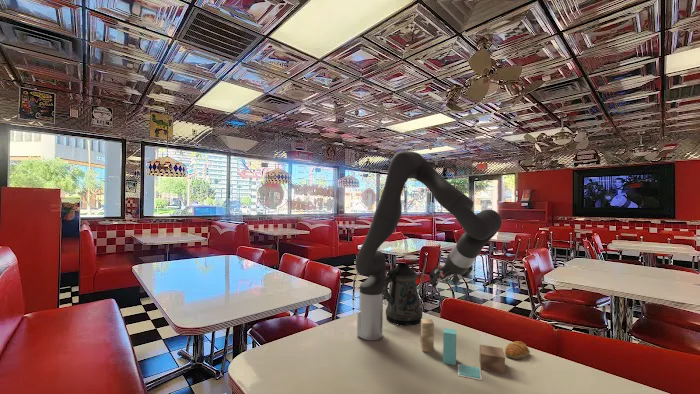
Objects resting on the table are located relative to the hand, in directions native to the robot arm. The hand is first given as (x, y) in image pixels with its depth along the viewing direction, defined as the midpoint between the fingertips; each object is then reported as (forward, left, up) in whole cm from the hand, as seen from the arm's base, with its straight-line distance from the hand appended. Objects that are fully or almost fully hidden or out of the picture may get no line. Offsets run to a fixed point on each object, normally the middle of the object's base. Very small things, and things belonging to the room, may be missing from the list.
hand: (443, 283), depth 111 cm
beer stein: (-18, +23, -24) cm, 38 cm away
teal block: (+3, -7, -24) cm, 25 cm away
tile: (+9, -12, -24) cm, 28 cm away
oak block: (-5, -1, -24) cm, 24 cm away
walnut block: (+16, -5, -24) cm, 29 cm away
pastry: (+25, +7, -24) cm, 36 cm away
